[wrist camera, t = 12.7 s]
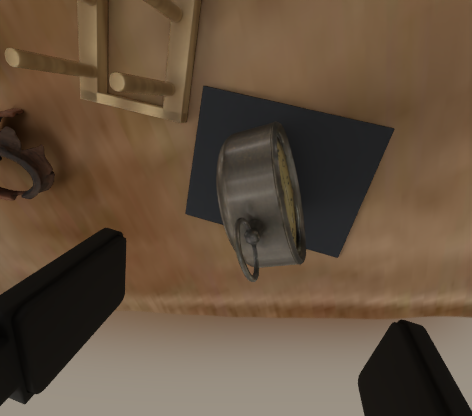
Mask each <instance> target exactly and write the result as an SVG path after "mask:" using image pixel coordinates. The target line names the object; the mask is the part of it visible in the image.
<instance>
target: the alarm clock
mask: <svg viewBox="0 0 472 416" xmlns="http://www.w3.org/2000/svg"><path fill="white" fill-rule="evenodd" d="M216 184H217V195H218V203H219V208H220V213H221V217H222V221H223V224H224V228H225V231H226V233H227V236H228V238H229V241H230V243H231V245H232V247H233V248H234V250H235V252H236V254H237V258H238V261H239V264H240V266H241V269H242V271H243V273H244V275H245V277H246V278H247V279H248V280H249V281H251V282H255V281H256V280H257V279H258V276H259V268H260V267H272V266H283V265H295V264H302V263H303V262H304V260H305V256H306V239H305V225H304V215H303V209H302V202H301V194H300V189H299V183H298V178H297V173H296V168H295V164H294V159H293V156H292V152H291V148H290V144H289V142H288V138H287V135H286V132H285V130H284V128H283V126H282V125H281V123H279V122H277V121H275V122H273V123H270V124H267V125H263V126H259V127H256V128H252V129H248V130H245V131H241V132H237V133H234V134H232V135H230V136H229V137H228V138H227V139H226V140H225V142H224V143H223V145H222V147H221V150H220V153H219V157H218V162H217V175H216ZM246 264H248V265H250V266H252V267H254V273H253V275H251V274H250V272H249V270H248V267H247V265H246Z"/></svg>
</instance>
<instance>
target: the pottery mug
mask: <svg viewBox="0 0 472 416" xmlns="http://www.w3.org/2000/svg"><path fill="white" fill-rule="evenodd" d="M21 113H23V110H22V109H8V110H5V111H0V122H1V119H2V118H3V117H14V116H15V115H16V114H21ZM1 156H3V157H6V158H9V159H11V160H13V161H15V162H17V163H18V164H19V165H21V166H22V167H23V168H24V169H25V170H27V172H28V173H29V174H30V175H31V177H32V179H33V187H31V189H29V190H28V191H13V190H8V189H5V188H1V187H0V199H4V200H11V201H12V200H15V199H16V197H17V196H18V195H22V198H26V199H32V198H33V197H35V196H36V195H37V194H38V193H40V192H43V191H46V190H48V189H49V188H50V187H51V186H52V184H53V182H54V176H55V174H54V172H52V170H53V169H52V167H51V165H50V164H49V162H48V161H47V159H46V158H45V155H44V147H43V145H40V146H39V147H35V148H31V149H26V150H21V142H20V140H19V139H18V137H17V136H16V132H15V131H14V130H13V129H12V128H10V127H7V126H5V127H4V128H3V129H2V130H1V131H0V160H2V158H1Z"/></svg>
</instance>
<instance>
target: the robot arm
mask: <svg viewBox="0 0 472 416" xmlns="http://www.w3.org/2000/svg"><path fill="white" fill-rule="evenodd" d="M125 268H126V238H124V237H123V234H122V233H121V232H119V231H116V230H113V229H109V228H104V229H102V230H100V231H99V232H97V233H95V234H94V235H92V236H91V237H89V238H88V239H86V240H85V241H83V242H82V243H80V244H78V245H77V246H75V247H74V248H72V249H71V250H69V251H68V252H66V253H64V254H63V255H61V256H60V257H58V258H57V259H55V260H54V261H52V262H51V263H49V264H47V265H46V266H44V267H43V268H41V269H40V270H38V271H37V272H35V273H34V274H32V275H30V276H29V277H27V278H26V279H24V280H23V281H21V282H20V283H18V284H16V285H15V286H13V287H12V288H10V289H9V290H7V291H6V292H4V293H3V294H1V295H0V406H1V405H2V404H3V402H5V401H6V400H7V399H8V398H11V399H13V400H15V401H18V402H20V403H23V404H26V403H27V402H28V401H29V399H30V398H31V397H32V396H33V395H34V394H39V393H41V392H42V391H43V390H44V389H45V388H46V387H47V386H48V385H49V384H50V383H51V381H52V380H53V379H54V378H55V377H56V376H57V374H58V373H59V372H60V371H61V370H62V369H63V368H64V367H65V366H66V364H67V363H68V362H69V361H70V360H71V359H72V358H73V356H74V355H75V354H76V353H77V352H78V351H79V350H80V349H81V348H82V346H83V345H84V344H85V343H86V342H87V341H88V340H89V338H90V337H91V336H92V335H93V334H94V333H95V332H96V331H97V329H98V328H99V327H100V326H101V325H102V324H103V322H104V321H105V320H106V319H107V318H108V317H109V316H110V315H111V314H112V312H113V311H114V310H115V309H116V308H117V307H118V306H119V305H120V303H121V302H122V300H123V298H124V295H125ZM358 387H359V392H360V397H361V401H362V406H363V410H364V415H365V416H472V411H471V409H470V407H469V405H468V404H467V402H466V400H465V398H464V397H463V395H462V393H461V391H460V390H459V388H458V386H457V384H456V382H455V381H454V379H453V377H452V375H451V373H450V372H449V370H448V368H447V366H446V365H445V363H444V361H443V360H442V358H441V356H440V354H439V352H438V351H437V349H436V347H435V345H434V343H433V342H432V340H431V338H430V336H429V335H428V333H427V331H426V329H425V328H424V327H423V326H421V325H418V324H415V323H412V322H409V321H406V320H399V321H398V322H397V323H396V322H394V323H392V324H391V325H390V327H389V328H388V330H387V332H386V333H385V335H384V337H383V338H382V340H381V341H380V343H379V345H378V346H377V347H376V349H375V351H374V352H373V354H372V356H371V357H370V359H369V360H368V362H367V363H366V365H365V366H364V368H363V370H362V371H361V373H360V375H359V378H358Z"/></svg>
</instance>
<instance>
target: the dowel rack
mask: <svg viewBox="0 0 472 416" xmlns="http://www.w3.org/2000/svg"><path fill="white" fill-rule="evenodd" d="M143 1H145V2H146V3H148V4H149V5H150V6H152V7H153V8H155V9H156V10H157V11H159V12H160V13H162V14H163V15H164V16H166V17H167V18H169V19H170V20H171V23H170V34H169V46H168V57H167V69H166V80H165V82H164V81H159V80H154V79H149V78H144V77H139V76H134V75H129V74H124V73H119V72H113V73H112V74H111V75H110V77H109V84H110V86H111V88H112V89H113V90H115V91H117V92H127V93H138V94H149V95H160V96H164V103H163V106H159V105H155V104H150V103H146V102H142V101H138V100H134V99H130V98H125V97H121V96H117V95H113V94H109V93H107V84H108V0H77V11H78V41H79V62H76V61H71V60H66V59H62V58H57V57H52V56H47V55H43V54H38V53H33V52H29V51H24V50H19V49H14V48H7V49H6V51H5V58H6V60H7V62H8V63H9V65H11V66H13V67H18V68H25V69H31V70H38V71H45V72H52V73H59V74H66V75H73V76H80V98H81V99H85V100H89V101H93V102H97V103H101V104H105V105H109V106H113V107H117V108H121V109H125V110H129V111H134V112H138V113H142V114H146V115H150V116H154V117H158V118H162V119H166V120H170V121H174V122H178V123H184V122H187V114H188V106H189V98H190V90H191V81H192V73H193V65H194V57H195V49H196V41H197V33H198V25H199V17H200V9H201V0H143Z"/></svg>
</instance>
